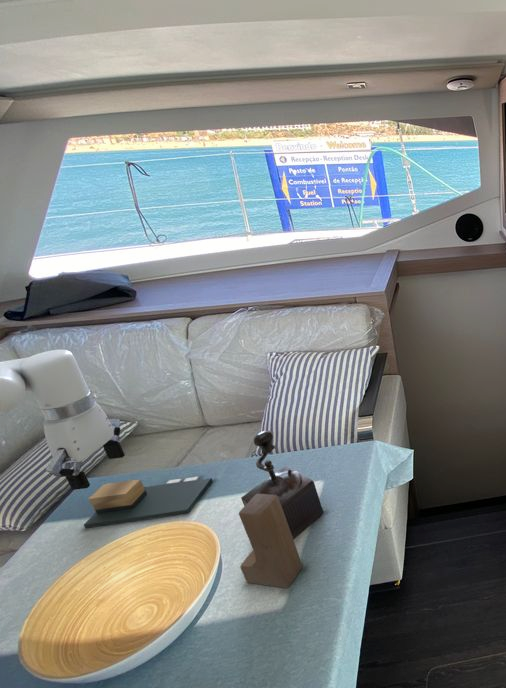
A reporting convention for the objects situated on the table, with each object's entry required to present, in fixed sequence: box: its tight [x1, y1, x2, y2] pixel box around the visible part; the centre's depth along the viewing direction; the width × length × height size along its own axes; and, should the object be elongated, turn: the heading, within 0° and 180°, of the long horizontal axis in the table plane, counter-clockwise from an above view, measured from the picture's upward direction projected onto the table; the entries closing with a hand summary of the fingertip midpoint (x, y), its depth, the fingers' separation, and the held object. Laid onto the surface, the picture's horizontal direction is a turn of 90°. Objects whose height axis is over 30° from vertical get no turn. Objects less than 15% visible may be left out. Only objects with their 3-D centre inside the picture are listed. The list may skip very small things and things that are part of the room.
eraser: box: [88, 478, 147, 514], centre depth 97 cm, size 8×4×4 cm, turn 97°
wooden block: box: [238, 494, 303, 589], centre depth 75 cm, size 9×4×18 cm, turn 80°
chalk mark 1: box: [165, 478, 183, 484], centre depth 104 cm, size 3×1×1 cm, turn 97°
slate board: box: [83, 477, 214, 529], centre depth 98 cm, size 22×10×1 cm, turn 97°
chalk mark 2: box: [182, 476, 200, 482], centre depth 104 cm, size 3×1×1 cm, turn 97°
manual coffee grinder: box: [240, 430, 325, 540], centre depth 88 cm, size 16×11×18 cm
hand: (100, 472), depth 93 cm, fingers open, 9 cm apart
